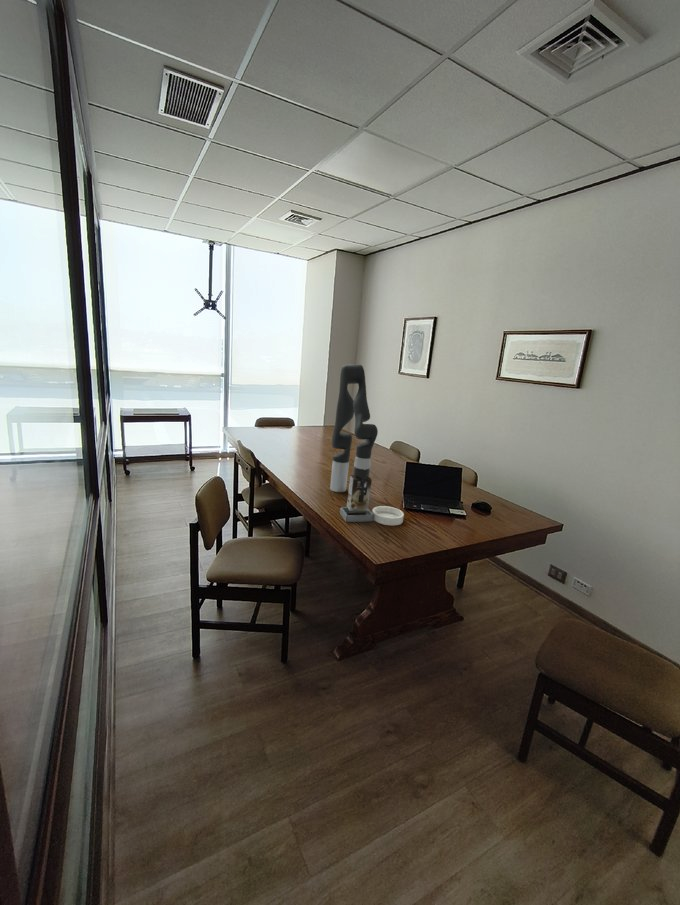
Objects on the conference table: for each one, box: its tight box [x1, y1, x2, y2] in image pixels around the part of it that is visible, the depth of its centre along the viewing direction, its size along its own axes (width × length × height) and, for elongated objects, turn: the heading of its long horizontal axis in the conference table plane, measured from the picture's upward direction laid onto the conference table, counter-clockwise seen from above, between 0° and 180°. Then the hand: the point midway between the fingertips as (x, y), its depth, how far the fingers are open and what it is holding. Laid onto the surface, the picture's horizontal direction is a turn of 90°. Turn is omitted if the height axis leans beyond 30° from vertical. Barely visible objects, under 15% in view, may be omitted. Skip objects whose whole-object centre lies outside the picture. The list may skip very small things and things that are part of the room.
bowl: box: [371, 505, 405, 526], centre depth 194 cm, size 15×15×4 cm
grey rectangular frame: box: [339, 506, 374, 523], centre depth 193 cm, size 11×14×3 cm
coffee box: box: [346, 474, 373, 511], centre depth 190 cm, size 9×6×16 cm
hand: (358, 499), depth 191 cm, fingers closed on coffee box, 6 cm apart
